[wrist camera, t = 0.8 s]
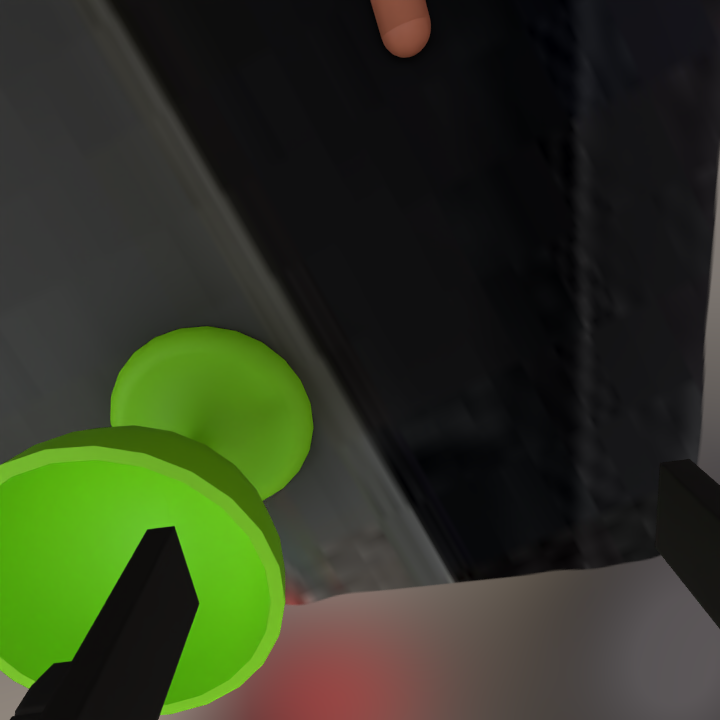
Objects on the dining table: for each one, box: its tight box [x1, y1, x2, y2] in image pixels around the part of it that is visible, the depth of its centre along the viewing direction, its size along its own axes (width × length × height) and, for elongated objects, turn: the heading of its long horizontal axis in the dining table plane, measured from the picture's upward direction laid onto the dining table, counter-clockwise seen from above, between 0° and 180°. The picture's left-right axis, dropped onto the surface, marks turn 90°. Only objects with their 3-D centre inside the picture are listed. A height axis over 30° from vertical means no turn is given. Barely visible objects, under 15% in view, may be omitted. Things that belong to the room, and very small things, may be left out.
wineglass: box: [0, 326, 314, 715], centre depth 33 cm, size 16×16×18 cm
